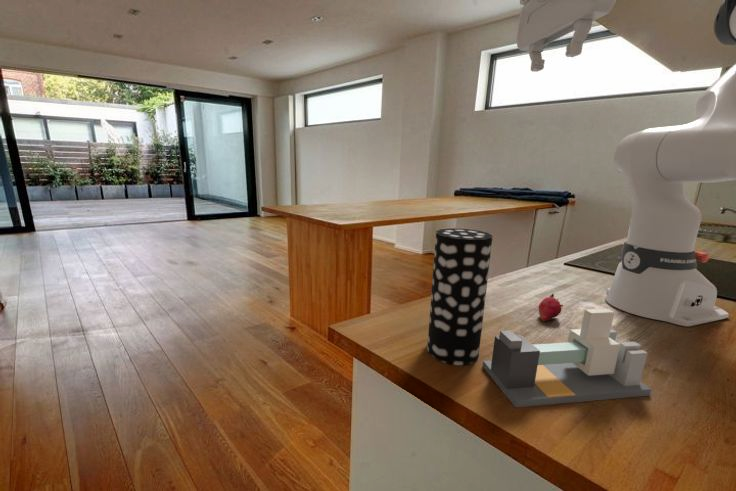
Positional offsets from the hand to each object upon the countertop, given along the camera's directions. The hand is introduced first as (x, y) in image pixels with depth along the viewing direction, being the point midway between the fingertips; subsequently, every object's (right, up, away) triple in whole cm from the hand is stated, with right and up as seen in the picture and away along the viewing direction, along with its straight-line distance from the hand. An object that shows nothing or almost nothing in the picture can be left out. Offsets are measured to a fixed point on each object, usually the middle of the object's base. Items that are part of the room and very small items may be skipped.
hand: (553, 63), depth 60 cm
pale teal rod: (-5, -49, -11) cm, 50 cm away
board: (-5, -52, -11) cm, 53 cm away
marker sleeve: (-1, -50, -11) cm, 51 cm away
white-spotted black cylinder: (-19, -50, -4) cm, 54 cm away
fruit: (+4, -48, +9) cm, 49 cm away
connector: (-13, -52, -12) cm, 55 cm away
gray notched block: (+3, -52, -9) cm, 53 cm away
